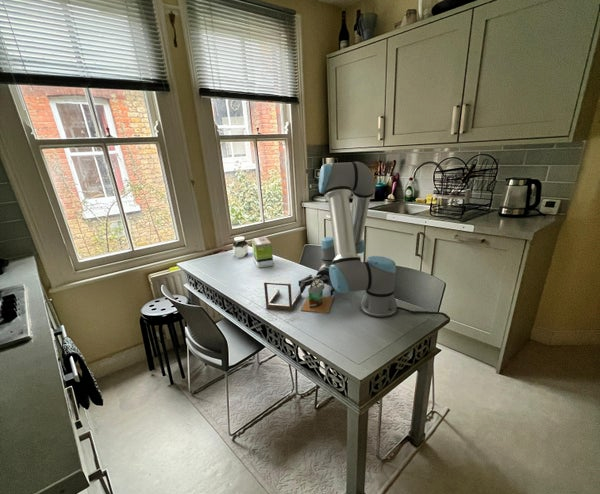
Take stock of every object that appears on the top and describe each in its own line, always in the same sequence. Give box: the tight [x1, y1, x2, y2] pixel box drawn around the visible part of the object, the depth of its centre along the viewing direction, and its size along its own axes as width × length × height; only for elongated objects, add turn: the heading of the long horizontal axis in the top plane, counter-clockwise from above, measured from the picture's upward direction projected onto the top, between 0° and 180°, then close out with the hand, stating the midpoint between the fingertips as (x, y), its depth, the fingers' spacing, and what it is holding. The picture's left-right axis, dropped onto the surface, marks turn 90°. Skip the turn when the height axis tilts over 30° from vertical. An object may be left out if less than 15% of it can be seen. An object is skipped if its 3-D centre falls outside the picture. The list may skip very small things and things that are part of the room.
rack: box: [263, 281, 302, 312], centre depth 145 cm, size 12×16×13 cm
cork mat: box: [300, 296, 334, 314], centre depth 144 cm, size 12×15×1 cm
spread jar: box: [232, 236, 250, 259], centre depth 214 cm, size 12×11×12 cm
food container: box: [307, 278, 325, 308], centre depth 142 cm, size 12×6×10 cm, turn 168°
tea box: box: [251, 236, 274, 268], centre depth 197 cm, size 15×10×15 cm, turn 17°
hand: (316, 291), depth 138 cm, fingers open, 13 cm apart
